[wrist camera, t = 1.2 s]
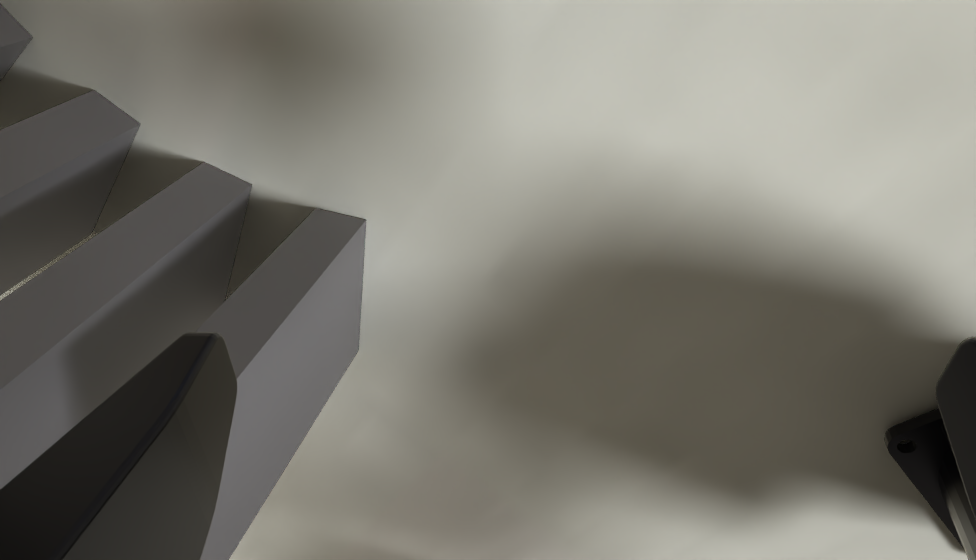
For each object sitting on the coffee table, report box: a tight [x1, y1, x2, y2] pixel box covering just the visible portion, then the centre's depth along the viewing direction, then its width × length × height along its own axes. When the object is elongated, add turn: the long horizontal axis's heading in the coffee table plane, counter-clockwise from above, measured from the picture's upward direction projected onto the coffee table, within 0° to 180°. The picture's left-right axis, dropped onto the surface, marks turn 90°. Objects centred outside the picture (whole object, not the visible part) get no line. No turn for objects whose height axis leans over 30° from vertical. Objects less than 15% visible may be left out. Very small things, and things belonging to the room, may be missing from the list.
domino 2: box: [0, 162, 252, 489], centre depth 19 cm, size 2×5×10 cm, turn 157°
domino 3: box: [195, 208, 366, 560], centre depth 19 cm, size 2×5×10 cm, turn 171°
